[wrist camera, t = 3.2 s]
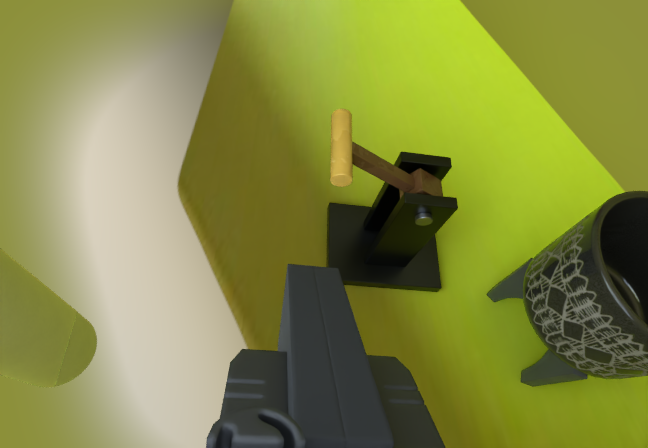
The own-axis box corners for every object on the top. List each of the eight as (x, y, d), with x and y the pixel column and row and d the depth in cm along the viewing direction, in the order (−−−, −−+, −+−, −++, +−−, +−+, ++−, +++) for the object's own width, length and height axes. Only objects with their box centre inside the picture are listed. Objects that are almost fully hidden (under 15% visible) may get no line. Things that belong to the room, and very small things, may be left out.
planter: (448, 322, 44) (560, 253, 28) (515, 252, 49) (640, 162, 34) (547, 426, 41) (735, 412, 25) (608, 338, 46) (792, 282, 31)
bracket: (326, 283, 44) (357, 220, 31) (327, 207, 48) (356, 126, 36) (437, 292, 45) (507, 235, 33) (428, 218, 49) (488, 144, 37)
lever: (322, 184, 30) (344, 169, 28) (323, 119, 33) (344, 102, 31) (423, 231, 36) (446, 222, 35) (417, 173, 39) (438, 162, 37)
